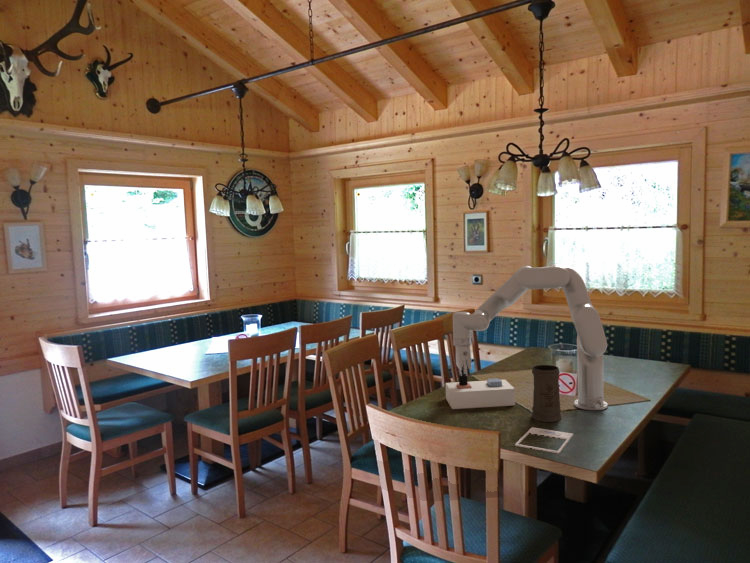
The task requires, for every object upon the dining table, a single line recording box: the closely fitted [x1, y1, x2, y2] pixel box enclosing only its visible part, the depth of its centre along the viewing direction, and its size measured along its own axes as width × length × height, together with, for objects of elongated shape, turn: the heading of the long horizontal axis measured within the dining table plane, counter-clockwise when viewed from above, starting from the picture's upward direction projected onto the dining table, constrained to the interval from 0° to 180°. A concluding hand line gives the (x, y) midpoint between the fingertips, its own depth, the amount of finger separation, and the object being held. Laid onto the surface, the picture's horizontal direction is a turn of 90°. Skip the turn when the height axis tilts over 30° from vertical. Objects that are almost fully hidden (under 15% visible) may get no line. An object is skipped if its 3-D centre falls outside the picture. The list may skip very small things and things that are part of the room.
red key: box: [457, 383, 471, 389], centre depth 236 cm, size 5×5×4 cm
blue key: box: [486, 377, 502, 387], centre depth 237 cm, size 5×5×4 cm
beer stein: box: [531, 364, 562, 423], centre depth 216 cm, size 15×11×20 cm
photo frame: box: [514, 426, 574, 455], centre depth 193 cm, size 15×1×18 cm
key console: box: [445, 379, 516, 410], centre depth 237 cm, size 14×26×7 cm, turn 93°
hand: (463, 384), depth 236 cm, fingers closed
